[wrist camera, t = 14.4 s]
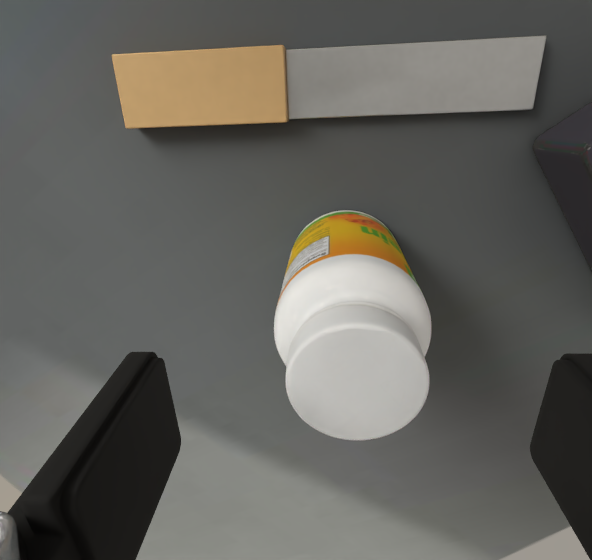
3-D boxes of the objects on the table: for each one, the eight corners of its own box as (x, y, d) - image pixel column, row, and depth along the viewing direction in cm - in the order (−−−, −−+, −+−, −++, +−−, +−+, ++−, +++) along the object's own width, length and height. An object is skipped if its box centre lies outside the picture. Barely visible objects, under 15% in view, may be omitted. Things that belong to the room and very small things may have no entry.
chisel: (135, 127, 18) (125, 128, 17) (122, 57, 17) (110, 54, 16) (527, 112, 16) (539, 112, 16) (541, 34, 15) (555, 29, 14)
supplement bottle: (422, 263, 19) (500, 395, 11) (340, 327, 21) (349, 485, 12) (348, 183, 18) (367, 257, 9) (268, 258, 20) (220, 380, 11)
